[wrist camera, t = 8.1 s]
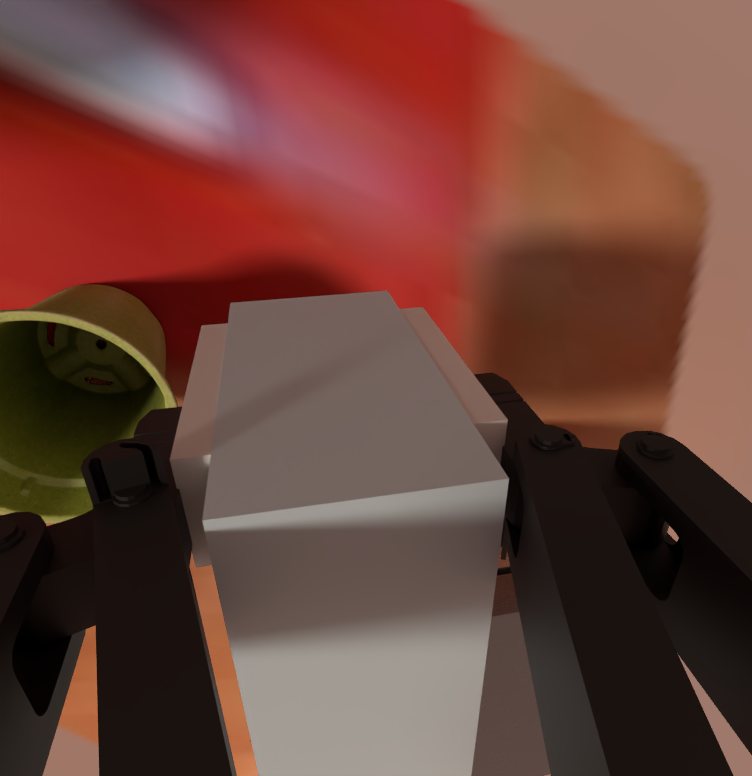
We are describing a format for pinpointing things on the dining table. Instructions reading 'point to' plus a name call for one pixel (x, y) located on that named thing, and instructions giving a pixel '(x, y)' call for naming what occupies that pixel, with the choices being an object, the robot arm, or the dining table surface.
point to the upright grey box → (351, 540)
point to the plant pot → (72, 392)
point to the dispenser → (508, 694)
